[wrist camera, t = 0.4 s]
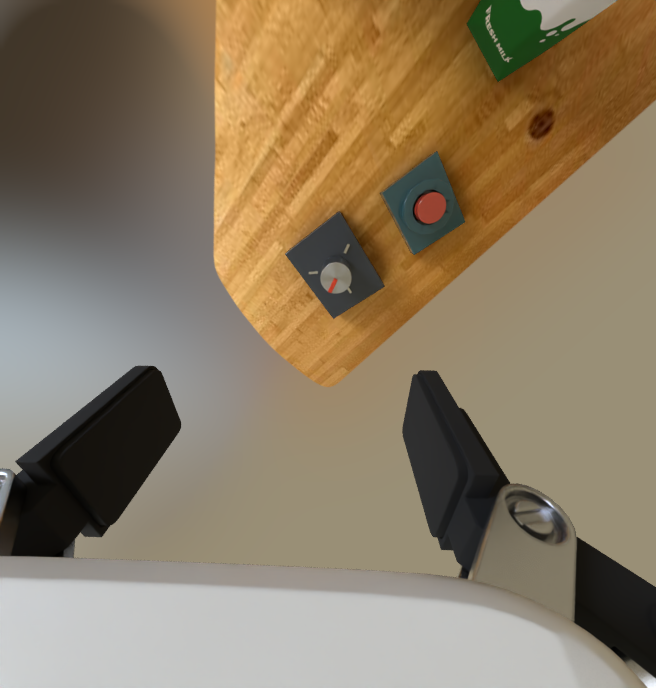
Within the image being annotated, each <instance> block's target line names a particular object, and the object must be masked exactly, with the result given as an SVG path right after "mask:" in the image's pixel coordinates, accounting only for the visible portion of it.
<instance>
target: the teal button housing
mask: <svg viewBox="0 0 656 688" xmlns="http://www.w3.org/2000/svg"><path fill="white" fill-rule="evenodd" d="M430 192H437V193H440V194H442V195H443V196H444V198H445V200H446V209H445V212H444V214H443V216H442V217H441V218H440V219H439V220H438V221H436V222H434V223H431V224H427V223H423V222H420V221H419V220H418V219H417V218H416V216H415V213H414V208H415V204H416V202H417V200H418V199H419V198H420V197H421V196H422V195H424V194H426V193H430ZM380 195H381V197H382V199H383V201H384V203H385V204H386V206H387V208H388V210H389V212H390V214H391V216H392V218H393V220H394V222H395V224H396V226H397V228H398V229H399V231H400V233H401V235H402V237H403V239H404V241H405V243H406V245H407V247H408V249H409V251H410V252H411V253H412V254H413V255H415V254H417V253H418V252H420V251H421V250H423V249H424V248H426V247H427V246H429V245H430V244H432V243H434V242H435V241H437V240H438V239H440V238H441V237H443V236H444V235H446V234H447V233H449V232H451V231H452V230H454V229H455V228H457V227H458V226H460V225H461V224H463V223H465V220H464V217H463V215H462V212H461V210H460V207H459V205H458V202H457V200H456V197H455V195H454V192H453V190H452V187H451V185H450V182H449V180H448V177H447V175H446V172H445V170H444V167H443V165H442V162H441V160H440V157H439V155H438V152H437V151H436V152H434V153H432V154H431V155H429V156H428V157H427V158H425V159H424V160H423V161H421V162H420V163H419V164H417V165H416V166H415V167H414V168H412V169H411V170H410V171H408V172H407V173H406V174H404V175H403V176H402V177H400V178H399V179H398V180H396V181H395V182H394V183H393V184H391V185H390V186H389V187H387V188H386V189H385V190H383V191H382V192H381V193H380Z"/></svg>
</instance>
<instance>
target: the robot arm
mask: <svg viewBox="0 0 656 688" xmlns="http://www.w3.org/2000/svg"><path fill="white" fill-rule="evenodd" d="M180 429H181V421H180V418H179V416H178V413H177V411H176V408H175V406H174V403H173V401H172V398H171V395H170V393H169V390H168V388H167V385H166V382H165V380H164V377H163V375H162V373H161V371H159V370H158V369H157V368H156V367H154V366H135V367H134V368H132V369H131V370H130V371H129V372H127V373H126V374H125V375H123V376H122V377H121V378H120V379H118V380H117V381H116V382H115V383H113V384H112V385H111V386H110V387H108V388H107V389H106V390H105V391H103V392H102V393H101V394H100V395H98V396H97V397H96V398H95V399H93V400H92V401H91V402H89V403H88V404H87V405H86V406H85V407H83V408H82V409H81V410H80V411H78V412H77V413H76V414H74V415H73V416H72V417H71V418H70V419H68V420H67V421H66V422H64V423H63V424H62V425H61V426H59V427H58V428H57V429H56V430H54V431H53V432H52V433H51V434H49V435H48V436H47V437H45V438H44V439H43V440H42V441H40V442H39V443H38V444H37V445H35V446H34V447H33V448H32V449H30V450H29V451H28V452H27V453H25V454H24V455H23V456H22V457H20V458H19V459H18V460H17V461H16V463H17V464H18V465H19V466H20V467H21V468H22V469H23V470H22V471H21V472H20V473H18V474H17V475H15V473H14V472H13V471H11V470H10V469H3V468H2V469H0V688H656V587H655V586H653V585H651V584H650V583H648V582H647V581H645V580H644V579H642V578H641V577H639V576H637V575H636V574H634V573H633V572H631V571H630V570H628V569H626V568H625V567H623V566H622V565H620V564H619V563H617V562H616V561H614V560H612V559H611V558H609V557H608V556H606V555H605V554H603V553H601V552H600V551H598V550H597V549H595V548H594V547H592V546H590V545H589V544H587V543H586V542H584V541H582V540H581V539H580V538H578V537H576V531H575V528H574V526H573V524H572V522H571V520H570V518H569V517H568V516H567V514H566V513H565V512H564V511H563V510H562V508H561V507H560V506H559V505H558V504H556V503H555V502H554V501H553V500H552V499H551V498H549V497H548V496H546V495H545V494H543V493H542V492H540V491H538V490H536V489H534V488H531V487H529V486H526V485H522V484H510V482H509V480H508V479H507V477H506V476H505V474H504V472H503V471H502V469H501V468H500V466H499V465H498V463H497V461H496V460H495V458H494V456H493V455H492V453H491V452H490V450H489V448H488V447H487V445H486V443H485V442H484V441H483V439H482V437H481V435H480V434H479V432H478V431H477V429H476V427H475V426H474V424H473V423H472V421H471V419H470V418H469V416H468V415H467V413H466V412H465V411H464V410H463V409H461V408H459V407H458V406H457V404H456V402H455V401H454V399H453V397H452V396H451V394H450V392H449V391H448V389H447V387H446V386H445V384H444V382H443V380H442V379H441V377H440V375H439V374H438V372H437V371H424V370H423V371H422V370H420V371H419V372H418V374H417V375H416V374H414V375H413V377H412V383H411V387H410V392H409V397H408V402H407V408H406V413H405V418H404V423H403V438H404V442H405V445H406V449H407V452H408V456H409V459H410V463H411V466H412V470H413V473H414V477H415V480H416V484H417V487H418V491H419V494H420V498H421V501H422V505H423V508H424V512H425V515H426V519H427V523H428V526H429V529H430V533H431V534H432V536H433V537H437V538H438V541H439V544H440V548H441V550H453V551H454V554H455V557H456V560H457V562H458V563H459V564H460V565H461V566H460V569H459V571H458V574H457V577H447V576H440V575H431V574H420V573H405V572H389V571H375V570H360V569H337V568H316V567H294V566H272V565H271V566H270V565H249V564H224V563H200V562H175V561H173V562H172V561H150V560H123V559H120V560H119V559H94V558H74V547H75V538H76V537H77V536H78V535H79V533H80V532H81V533H82V534H83V535H84V536H85V537H87V536H88V537H102V536H103V534H104V533H105V532H106V531H107V529H108V528H109V526H110V525H112V524H114V523H115V522H116V521H117V520H118V519H119V517H120V516H121V514H122V513H123V511H124V510H125V508H126V507H127V506H128V504H129V503H130V501H131V500H132V498H133V497H134V496H135V494H136V493H137V491H138V490H139V489H140V487H141V486H142V484H143V483H144V481H145V480H146V478H147V477H148V475H149V474H150V473H151V471H152V470H153V468H154V467H155V466H156V464H157V463H158V461H159V460H160V458H161V457H162V456H163V454H164V453H165V451H166V450H167V448H168V447H169V446H170V444H171V443H172V441H173V440H174V438H175V437H176V435H177V434H178V433H179V431H180Z"/></svg>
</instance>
